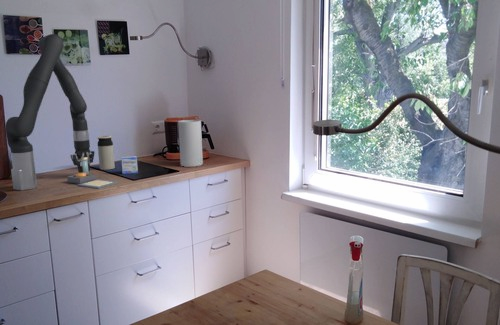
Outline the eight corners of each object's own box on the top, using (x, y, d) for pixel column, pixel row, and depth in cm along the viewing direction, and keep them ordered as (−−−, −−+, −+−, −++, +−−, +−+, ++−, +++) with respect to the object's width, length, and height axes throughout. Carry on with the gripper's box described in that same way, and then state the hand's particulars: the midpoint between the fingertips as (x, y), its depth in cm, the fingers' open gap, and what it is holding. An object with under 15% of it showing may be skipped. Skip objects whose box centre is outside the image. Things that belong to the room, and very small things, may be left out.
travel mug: (117, 167, 258) (115, 135, 254) (109, 170, 250) (106, 137, 247) (105, 167, 260) (102, 135, 256) (96, 170, 252) (94, 137, 249)
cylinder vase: (197, 167, 251) (195, 122, 247) (176, 166, 255) (174, 122, 251) (206, 163, 263) (204, 119, 258) (186, 162, 267) (184, 119, 262)
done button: (80, 179, 221) (80, 175, 221) (73, 178, 224) (73, 174, 224) (88, 176, 226) (88, 173, 225) (81, 176, 228) (81, 172, 228)
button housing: (80, 184, 219) (79, 178, 219) (67, 182, 224) (67, 176, 223) (95, 180, 227) (94, 174, 226) (82, 178, 231) (82, 172, 231)
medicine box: (122, 174, 239) (121, 158, 238) (122, 172, 244) (121, 156, 242) (137, 173, 241) (136, 157, 240) (137, 171, 246) (136, 155, 244)
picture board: (98, 188, 210) (98, 187, 210) (77, 185, 217) (77, 184, 216) (117, 183, 220) (117, 181, 220) (97, 180, 227) (97, 179, 227)
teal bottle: (84, 177, 234) (82, 158, 232) (78, 176, 236) (76, 157, 234) (90, 175, 238) (89, 156, 236) (85, 175, 240) (83, 156, 238)
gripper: (74, 141, 225) (78, 175, 228) (97, 137, 237) (100, 170, 241) (64, 140, 229) (68, 174, 232) (87, 137, 241) (90, 169, 244)
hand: (84, 172), depth 236 cm, fingers closed on teal bottle, 4 cm apart
